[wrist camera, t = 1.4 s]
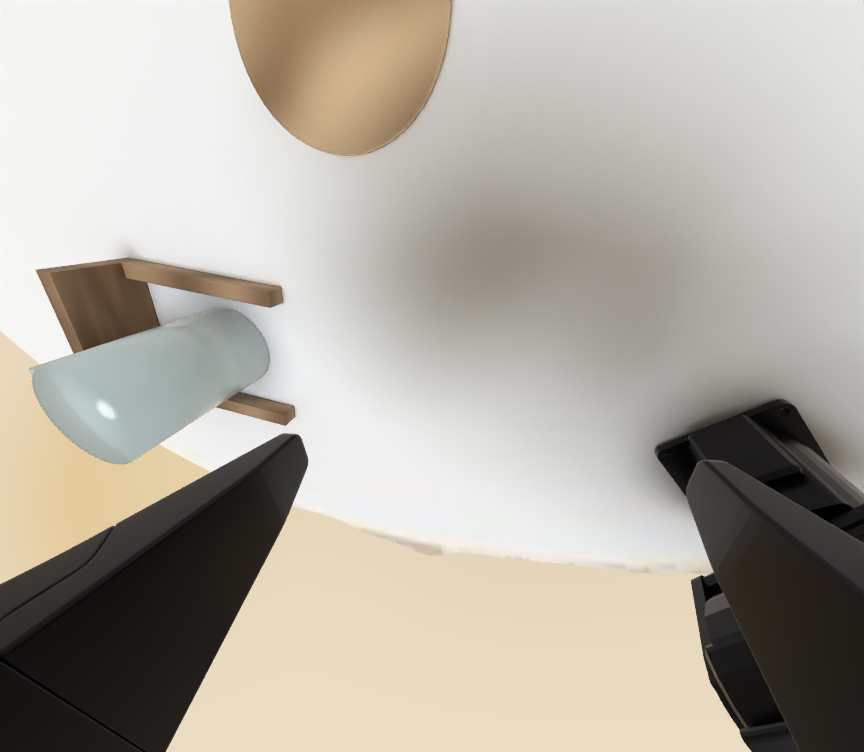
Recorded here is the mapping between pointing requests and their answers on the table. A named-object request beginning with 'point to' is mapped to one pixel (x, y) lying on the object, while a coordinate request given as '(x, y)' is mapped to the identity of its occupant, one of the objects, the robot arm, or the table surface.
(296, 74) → the coaster
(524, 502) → the table surface
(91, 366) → the jug
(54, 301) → the dock
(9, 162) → the table surface
